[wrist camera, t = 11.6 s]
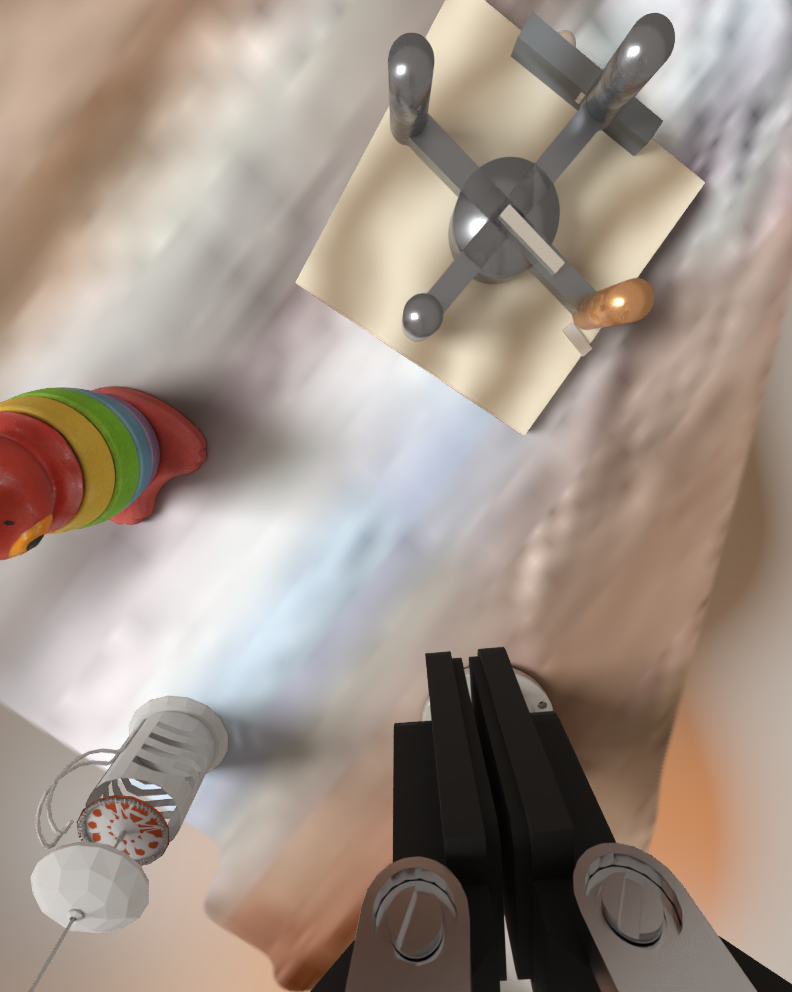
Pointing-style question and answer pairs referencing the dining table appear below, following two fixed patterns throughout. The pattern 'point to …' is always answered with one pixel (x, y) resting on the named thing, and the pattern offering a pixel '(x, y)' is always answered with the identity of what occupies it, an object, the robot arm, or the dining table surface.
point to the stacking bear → (86, 460)
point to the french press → (127, 818)
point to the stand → (430, 203)
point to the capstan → (518, 187)
